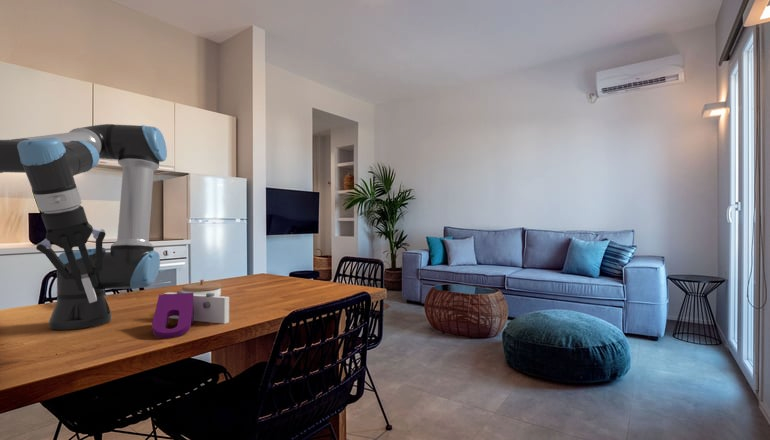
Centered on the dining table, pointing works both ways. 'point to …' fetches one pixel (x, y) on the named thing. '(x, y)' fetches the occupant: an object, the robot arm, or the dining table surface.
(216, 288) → the lidded bowl
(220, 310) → the hinge seat
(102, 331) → the dining table surface
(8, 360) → the dining table surface
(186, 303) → the mounting bracket
